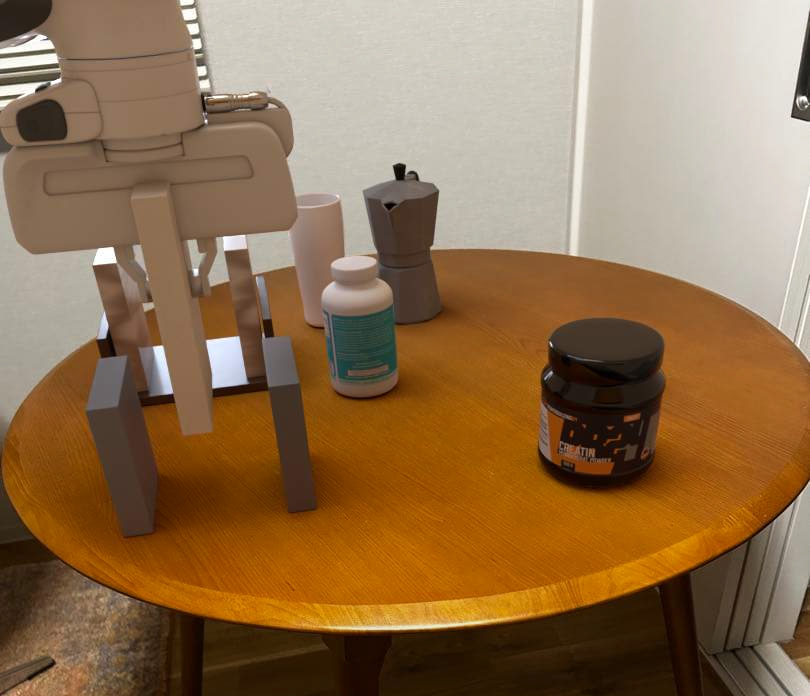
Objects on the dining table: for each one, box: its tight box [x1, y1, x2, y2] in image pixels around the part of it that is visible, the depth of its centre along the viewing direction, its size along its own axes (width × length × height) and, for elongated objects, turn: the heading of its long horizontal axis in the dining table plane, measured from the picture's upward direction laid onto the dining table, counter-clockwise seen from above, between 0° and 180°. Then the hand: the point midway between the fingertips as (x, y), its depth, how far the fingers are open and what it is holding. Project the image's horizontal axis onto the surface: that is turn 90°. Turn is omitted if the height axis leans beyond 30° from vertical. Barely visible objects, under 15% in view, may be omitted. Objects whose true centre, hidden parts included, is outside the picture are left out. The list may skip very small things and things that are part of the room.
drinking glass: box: [287, 191, 346, 328], centre depth 104 cm, size 7×7×15 cm
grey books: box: [84, 334, 318, 538], centre depth 73 cm, size 16×10×12 cm, turn 101°
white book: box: [131, 181, 214, 437], centre depth 66 cm, size 2×11×18 cm, turn 11°
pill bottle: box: [321, 255, 399, 398], centre depth 89 cm, size 8×7×14 cm
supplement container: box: [537, 317, 667, 488], centre depth 74 cm, size 10×10×12 cm
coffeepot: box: [362, 162, 443, 325], centre depth 105 cm, size 15×9×18 cm, turn 168°
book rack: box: [91, 234, 275, 407], centre depth 93 cm, size 18×14×15 cm
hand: (176, 297), depth 66 cm, fingers closed on white book, 2 cm apart
